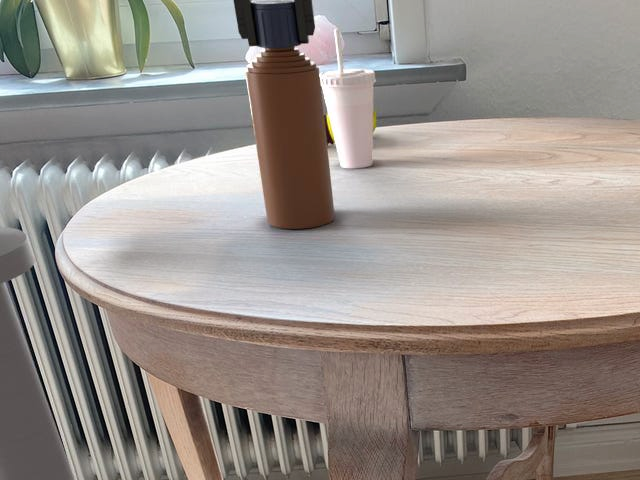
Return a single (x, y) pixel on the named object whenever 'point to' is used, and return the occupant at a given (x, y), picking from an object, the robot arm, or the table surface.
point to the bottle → (290, 138)
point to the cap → (275, 24)
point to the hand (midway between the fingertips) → (279, 42)
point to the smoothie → (350, 111)
